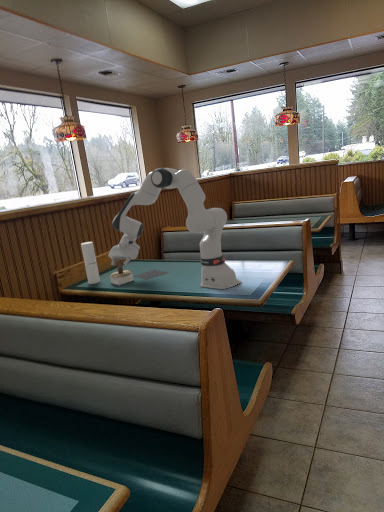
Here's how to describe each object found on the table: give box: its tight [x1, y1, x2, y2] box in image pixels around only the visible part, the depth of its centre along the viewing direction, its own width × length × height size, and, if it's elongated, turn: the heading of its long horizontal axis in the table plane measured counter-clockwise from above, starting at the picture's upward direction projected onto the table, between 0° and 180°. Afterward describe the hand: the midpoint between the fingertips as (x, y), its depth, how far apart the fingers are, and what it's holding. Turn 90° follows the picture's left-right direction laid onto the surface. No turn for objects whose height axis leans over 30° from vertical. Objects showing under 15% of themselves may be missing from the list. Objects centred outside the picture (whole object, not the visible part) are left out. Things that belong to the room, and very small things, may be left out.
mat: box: [134, 269, 169, 281], centre depth 236 cm, size 16×16×1 cm
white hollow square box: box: [109, 273, 134, 286], centre depth 229 cm, size 10×10×4 cm
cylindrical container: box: [80, 241, 101, 285], centre depth 234 cm, size 7×7×25 cm
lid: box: [110, 259, 132, 278], centre depth 227 cm, size 12×12×9 cm
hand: (118, 264), depth 226 cm, fingers open, 8 cm apart
